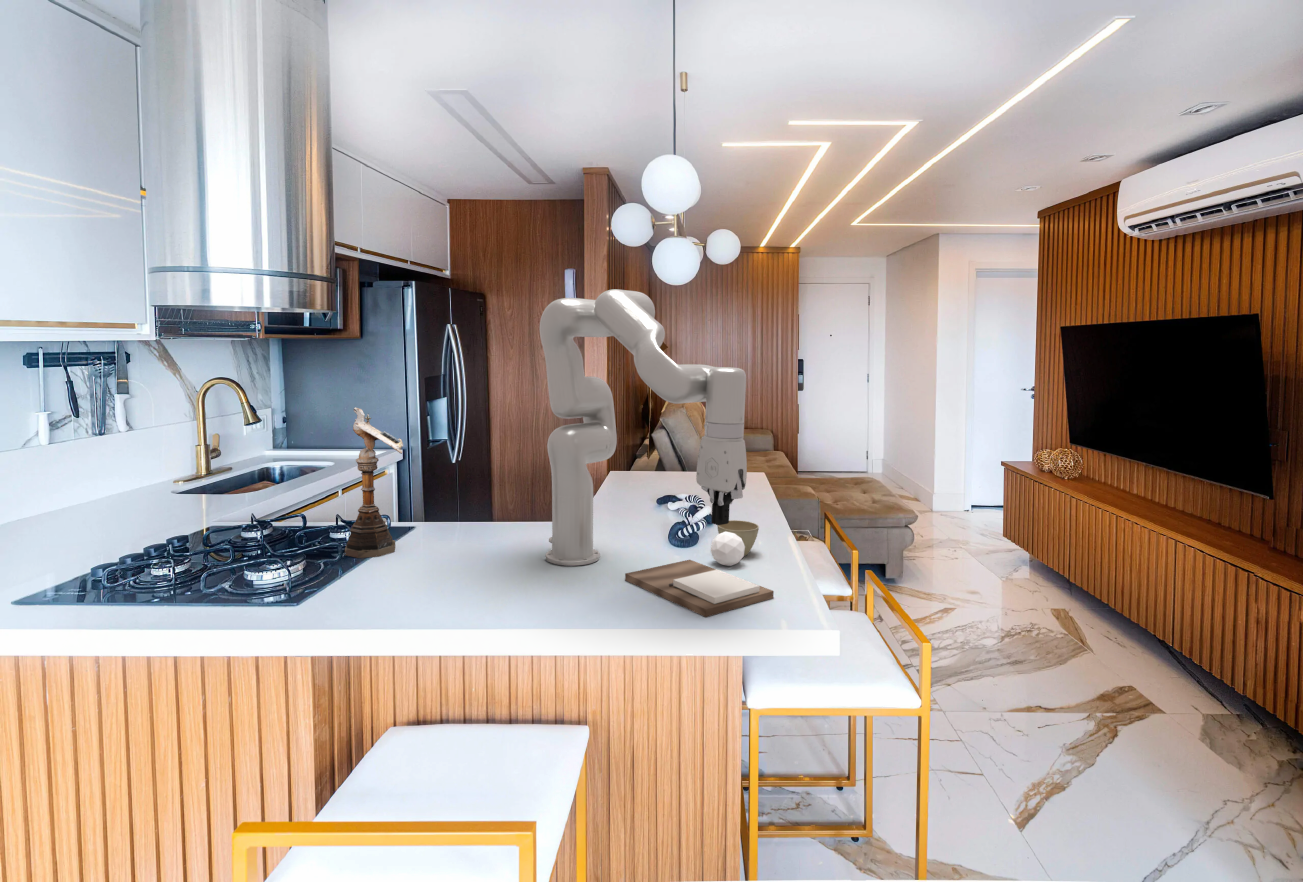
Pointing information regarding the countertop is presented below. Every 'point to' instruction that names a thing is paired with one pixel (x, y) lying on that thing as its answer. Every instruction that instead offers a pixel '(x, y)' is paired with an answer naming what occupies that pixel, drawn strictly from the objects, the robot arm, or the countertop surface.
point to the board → (662, 585)
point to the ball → (727, 548)
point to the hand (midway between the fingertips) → (720, 523)
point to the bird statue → (370, 496)
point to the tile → (716, 586)
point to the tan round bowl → (741, 532)
